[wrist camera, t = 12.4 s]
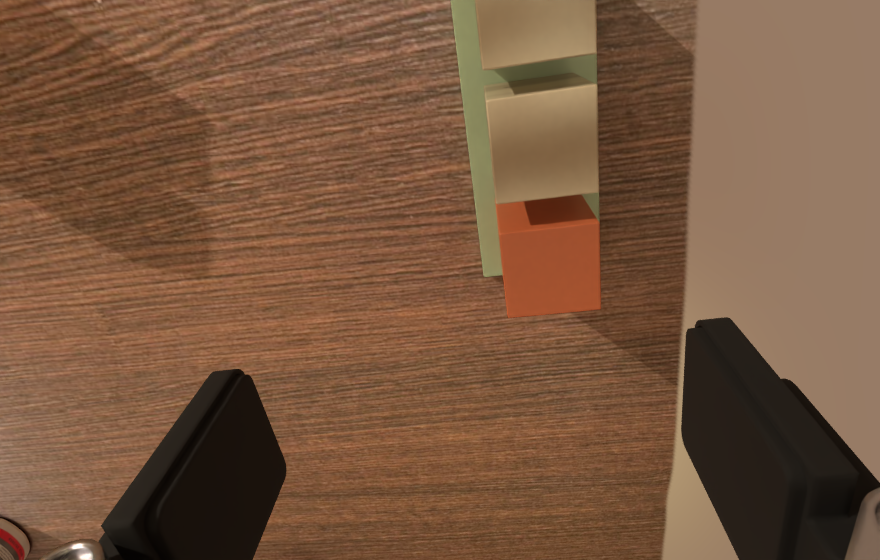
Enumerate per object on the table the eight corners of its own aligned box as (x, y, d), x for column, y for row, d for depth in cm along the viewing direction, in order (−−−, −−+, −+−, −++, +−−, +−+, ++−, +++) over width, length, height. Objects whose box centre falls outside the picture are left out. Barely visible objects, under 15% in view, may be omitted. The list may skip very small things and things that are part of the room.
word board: (444, -52, 22) (435, -74, 17) (591, -78, 21) (628, -109, 16) (483, 272, 28) (485, 326, 23) (597, 260, 28) (625, 313, 23)
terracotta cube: (494, 196, 26) (499, 233, 21) (577, 186, 25) (599, 222, 21) (502, 270, 28) (507, 318, 23) (580, 262, 27) (601, 309, 23)
